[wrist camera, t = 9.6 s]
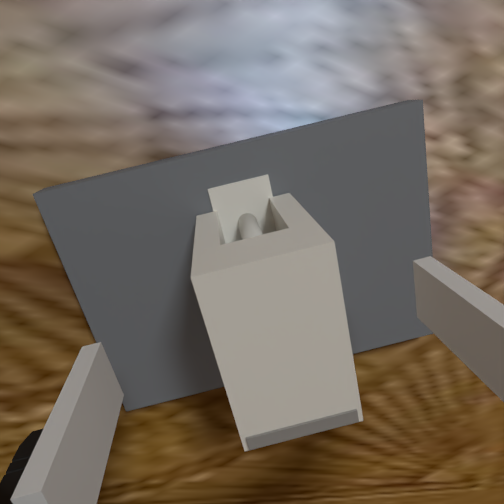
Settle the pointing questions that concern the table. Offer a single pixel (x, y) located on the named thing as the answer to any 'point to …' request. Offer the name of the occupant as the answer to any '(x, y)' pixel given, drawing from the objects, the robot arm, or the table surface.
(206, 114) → the table surface
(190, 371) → the board
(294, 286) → the housing
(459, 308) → the robot arm
